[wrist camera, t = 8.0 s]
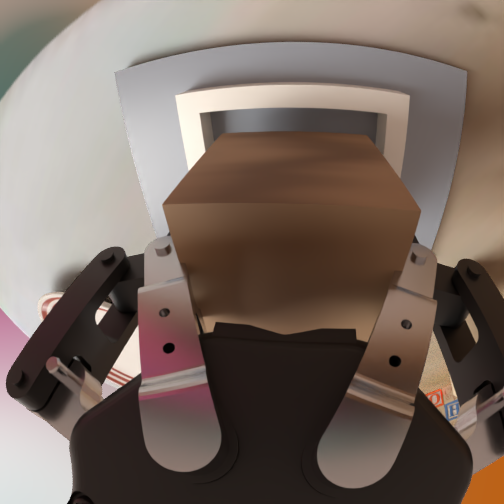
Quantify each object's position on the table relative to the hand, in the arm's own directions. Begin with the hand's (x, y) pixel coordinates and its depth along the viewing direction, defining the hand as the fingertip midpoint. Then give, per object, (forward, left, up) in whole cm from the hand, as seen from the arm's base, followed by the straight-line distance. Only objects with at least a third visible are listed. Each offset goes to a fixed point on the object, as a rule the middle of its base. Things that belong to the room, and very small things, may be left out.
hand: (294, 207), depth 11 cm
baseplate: (0, 0, -4) cm, 4 cm away
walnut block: (0, 0, -1) cm, 1 cm away
